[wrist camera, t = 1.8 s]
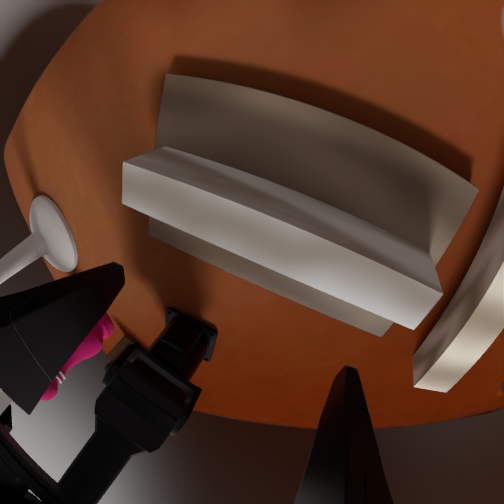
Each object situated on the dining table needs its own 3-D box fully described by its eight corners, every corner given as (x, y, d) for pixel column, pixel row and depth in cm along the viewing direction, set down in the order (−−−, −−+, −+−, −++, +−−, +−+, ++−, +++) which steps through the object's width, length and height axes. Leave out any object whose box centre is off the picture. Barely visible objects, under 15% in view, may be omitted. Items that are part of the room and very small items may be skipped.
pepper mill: (98, 329, 43) (30, 403, 27) (80, 297, 40) (3, 373, 24) (122, 338, 41) (50, 424, 25) (103, 304, 37) (18, 393, 21)
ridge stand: (381, 324, 22) (378, 380, 17) (158, 227, 25) (115, 260, 20) (471, 182, 14) (509, 218, 9) (178, 74, 17) (120, 74, 12)
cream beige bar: (443, 360, 22) (446, 392, 18) (412, 354, 22) (413, 386, 19) (536, 199, 12) (561, 221, 8) (503, 180, 13) (529, 200, 9)
